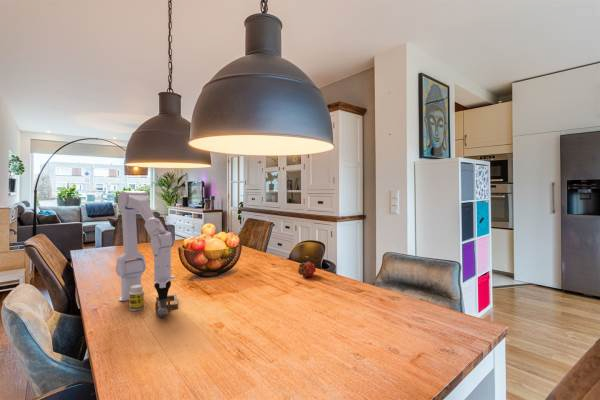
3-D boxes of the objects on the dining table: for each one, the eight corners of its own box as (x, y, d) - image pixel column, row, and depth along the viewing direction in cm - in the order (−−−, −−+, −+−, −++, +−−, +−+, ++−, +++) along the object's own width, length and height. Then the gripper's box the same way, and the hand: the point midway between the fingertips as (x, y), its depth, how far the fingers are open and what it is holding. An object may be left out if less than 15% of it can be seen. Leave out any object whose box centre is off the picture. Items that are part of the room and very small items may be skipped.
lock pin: (158, 306, 111) (158, 297, 111) (167, 305, 113) (167, 296, 113) (157, 319, 100) (157, 309, 100) (168, 317, 101) (167, 308, 101)
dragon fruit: (300, 282, 151) (309, 280, 162) (314, 274, 149) (322, 272, 160) (292, 267, 154) (301, 266, 165) (305, 259, 152) (314, 258, 163)
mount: (156, 300, 121) (156, 290, 121) (176, 298, 124) (176, 288, 124) (155, 313, 108) (155, 302, 108) (177, 310, 111) (177, 299, 111)
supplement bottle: (127, 311, 110) (127, 288, 110) (131, 307, 115) (130, 284, 115) (142, 310, 111) (141, 287, 111) (145, 305, 116) (144, 283, 116)
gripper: (174, 268, 108) (175, 306, 108) (173, 260, 121) (174, 294, 121) (152, 270, 105) (153, 309, 105) (154, 262, 118) (154, 297, 118)
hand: (163, 302), depth 113 cm, fingers closed
